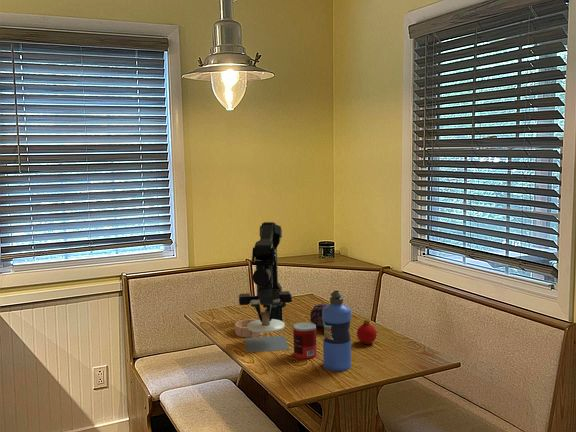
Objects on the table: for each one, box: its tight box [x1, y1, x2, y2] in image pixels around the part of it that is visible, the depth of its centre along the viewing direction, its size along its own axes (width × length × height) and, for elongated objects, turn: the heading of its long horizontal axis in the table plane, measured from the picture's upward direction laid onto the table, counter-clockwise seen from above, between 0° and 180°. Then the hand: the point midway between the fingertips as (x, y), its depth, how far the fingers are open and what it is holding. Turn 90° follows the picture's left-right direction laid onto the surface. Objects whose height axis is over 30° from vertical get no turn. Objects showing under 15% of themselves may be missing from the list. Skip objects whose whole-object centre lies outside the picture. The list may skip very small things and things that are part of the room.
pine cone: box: [309, 303, 330, 329], centre depth 230 cm, size 18×10×10 cm, turn 18°
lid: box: [247, 310, 286, 334], centre depth 213 cm, size 14×14×5 cm
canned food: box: [292, 321, 317, 361], centre depth 201 cm, size 8×8×11 cm
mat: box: [244, 335, 291, 354], centre depth 214 cm, size 15×15×1 cm
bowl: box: [234, 318, 265, 338], centre depth 227 cm, size 11×12×4 cm
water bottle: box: [322, 290, 352, 372], centre depth 192 cm, size 9×9×25 cm
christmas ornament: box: [356, 316, 378, 345], centre depth 213 cm, size 7×7×10 cm
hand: (265, 321), depth 213 cm, fingers closed on lid, 3 cm apart
